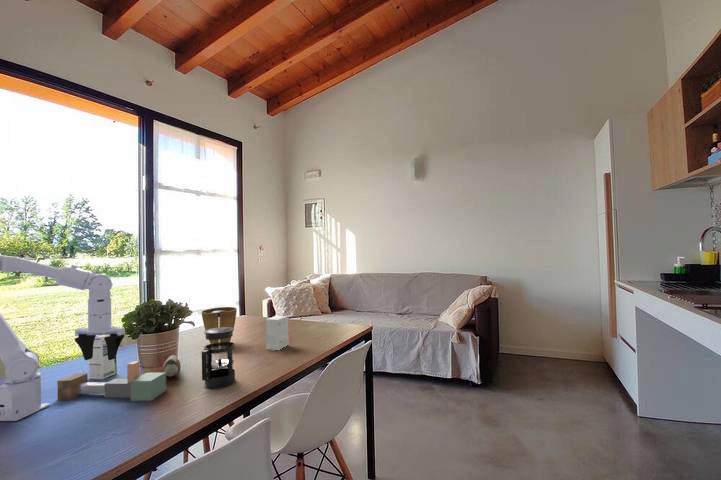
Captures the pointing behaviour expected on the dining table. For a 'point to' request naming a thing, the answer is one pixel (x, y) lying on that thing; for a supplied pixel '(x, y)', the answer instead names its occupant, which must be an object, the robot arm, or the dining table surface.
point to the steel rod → (91, 388)
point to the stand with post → (123, 383)
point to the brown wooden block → (70, 386)
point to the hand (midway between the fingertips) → (100, 359)
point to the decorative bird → (171, 367)
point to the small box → (277, 332)
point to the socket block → (148, 386)
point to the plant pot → (225, 320)
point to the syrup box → (101, 360)
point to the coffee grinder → (221, 374)
